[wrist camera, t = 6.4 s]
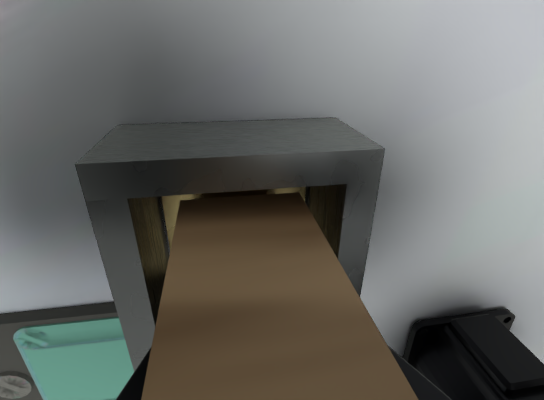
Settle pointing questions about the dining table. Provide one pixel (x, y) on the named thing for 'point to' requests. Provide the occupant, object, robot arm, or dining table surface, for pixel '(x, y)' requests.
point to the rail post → (263, 311)
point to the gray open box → (219, 194)
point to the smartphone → (63, 354)
